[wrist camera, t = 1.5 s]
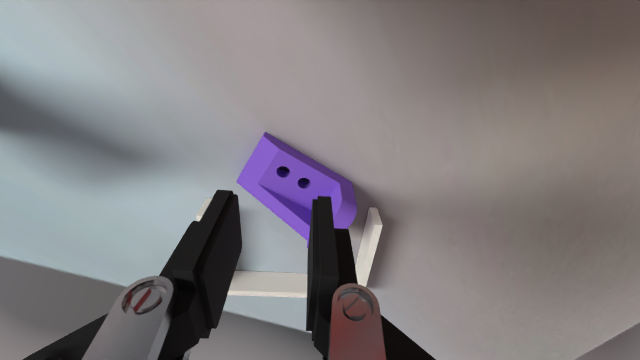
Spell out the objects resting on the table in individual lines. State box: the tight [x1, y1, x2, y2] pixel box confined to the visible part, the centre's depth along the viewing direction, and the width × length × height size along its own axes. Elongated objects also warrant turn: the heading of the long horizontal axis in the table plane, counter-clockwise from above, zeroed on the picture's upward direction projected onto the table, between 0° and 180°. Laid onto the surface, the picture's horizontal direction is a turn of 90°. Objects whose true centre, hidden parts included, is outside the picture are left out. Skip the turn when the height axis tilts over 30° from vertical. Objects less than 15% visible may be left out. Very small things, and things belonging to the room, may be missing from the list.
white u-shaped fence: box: [196, 198, 383, 298], centre depth 36 cm, size 14×22×4 cm, turn 85°
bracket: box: [237, 132, 357, 248], centre depth 30 cm, size 12×7×7 cm, turn 56°
